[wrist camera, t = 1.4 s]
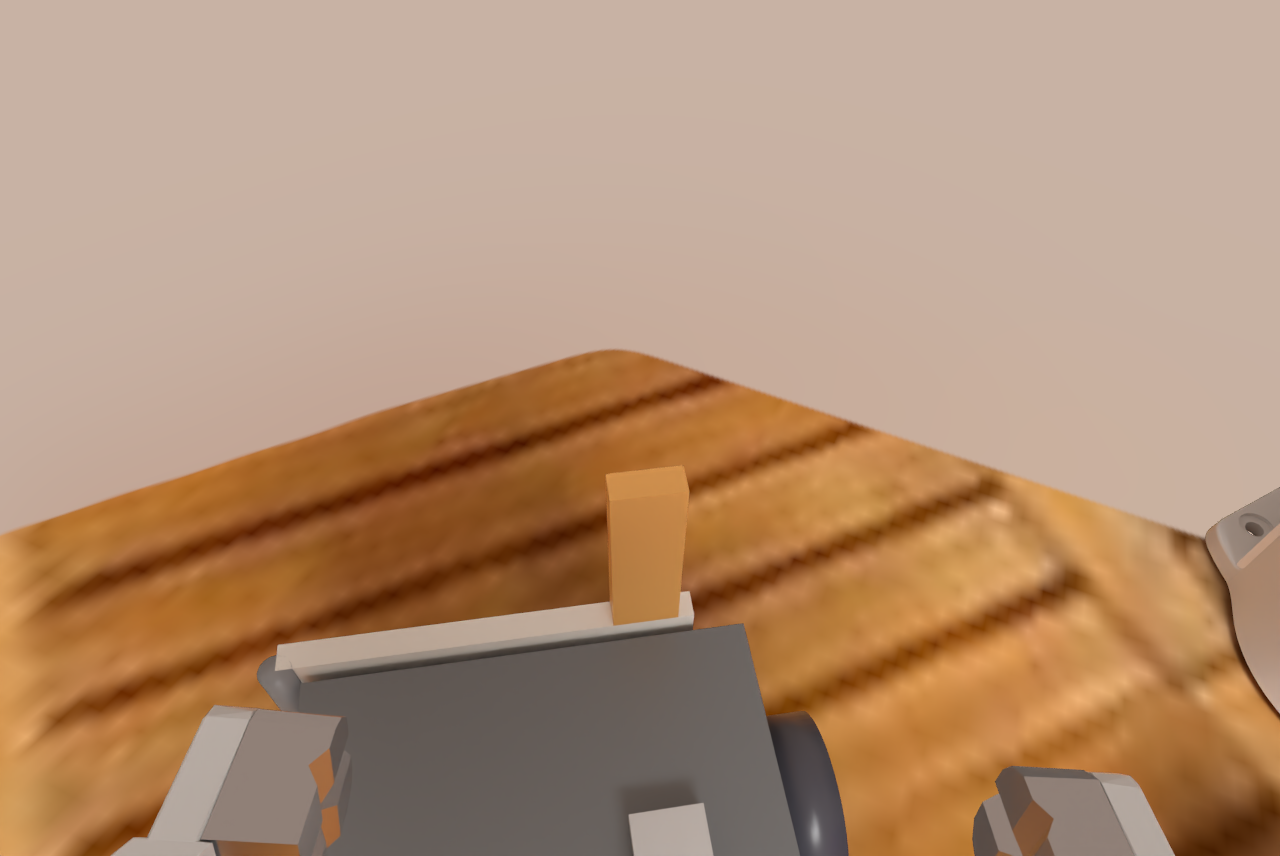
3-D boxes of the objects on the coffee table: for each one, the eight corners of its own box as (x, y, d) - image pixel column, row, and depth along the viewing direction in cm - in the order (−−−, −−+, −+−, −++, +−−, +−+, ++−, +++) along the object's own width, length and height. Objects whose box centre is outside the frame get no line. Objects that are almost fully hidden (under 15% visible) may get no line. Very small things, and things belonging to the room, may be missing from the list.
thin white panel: (685, 724, 40) (713, 505, 26) (324, 777, 38) (161, 572, 25) (678, 690, 41) (702, 462, 28) (327, 740, 39) (171, 524, 26)
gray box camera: (837, 993, 34) (897, 944, 26) (345, 1081, 32) (256, 1056, 24) (766, 707, 41) (798, 603, 33) (359, 766, 39) (294, 671, 31)
